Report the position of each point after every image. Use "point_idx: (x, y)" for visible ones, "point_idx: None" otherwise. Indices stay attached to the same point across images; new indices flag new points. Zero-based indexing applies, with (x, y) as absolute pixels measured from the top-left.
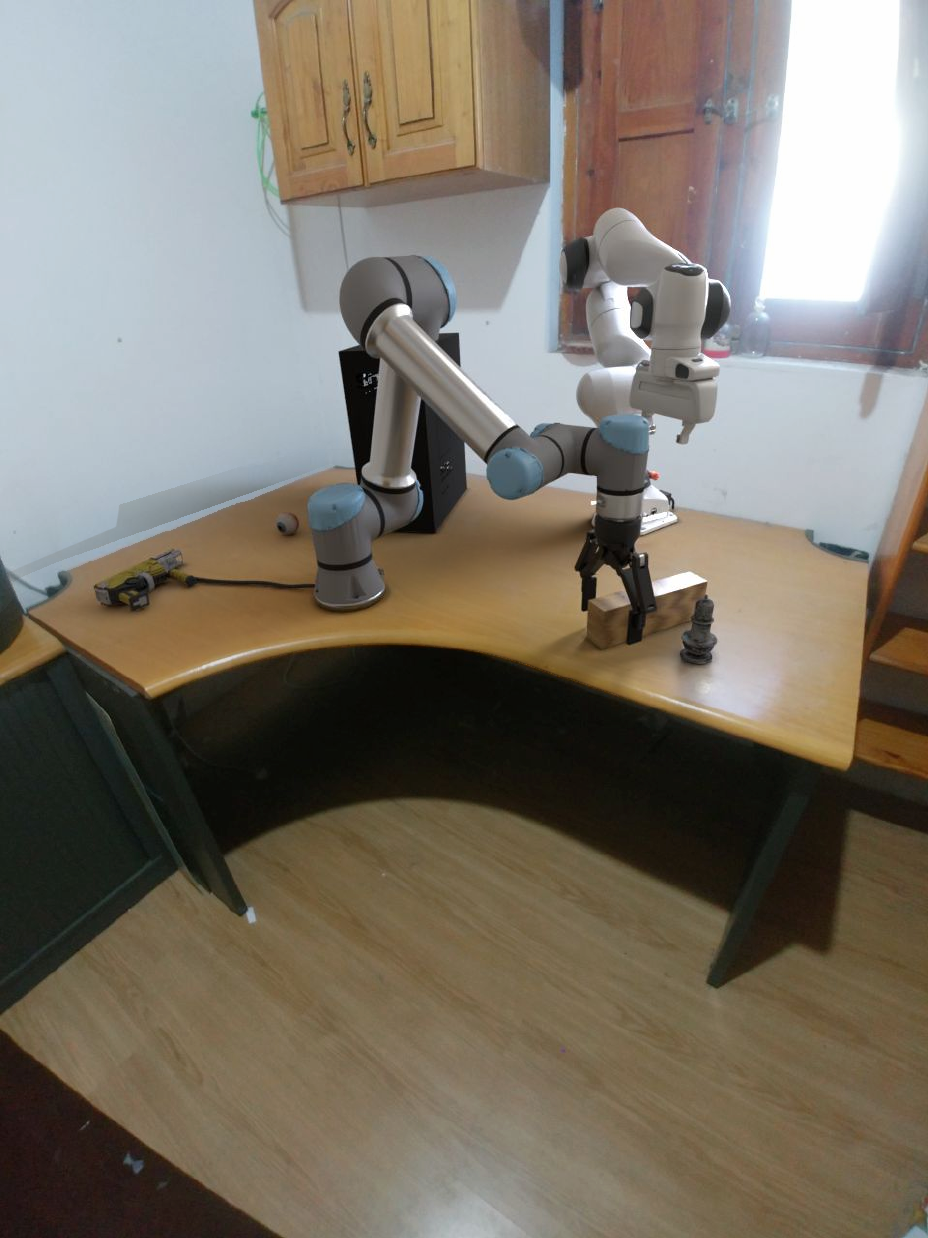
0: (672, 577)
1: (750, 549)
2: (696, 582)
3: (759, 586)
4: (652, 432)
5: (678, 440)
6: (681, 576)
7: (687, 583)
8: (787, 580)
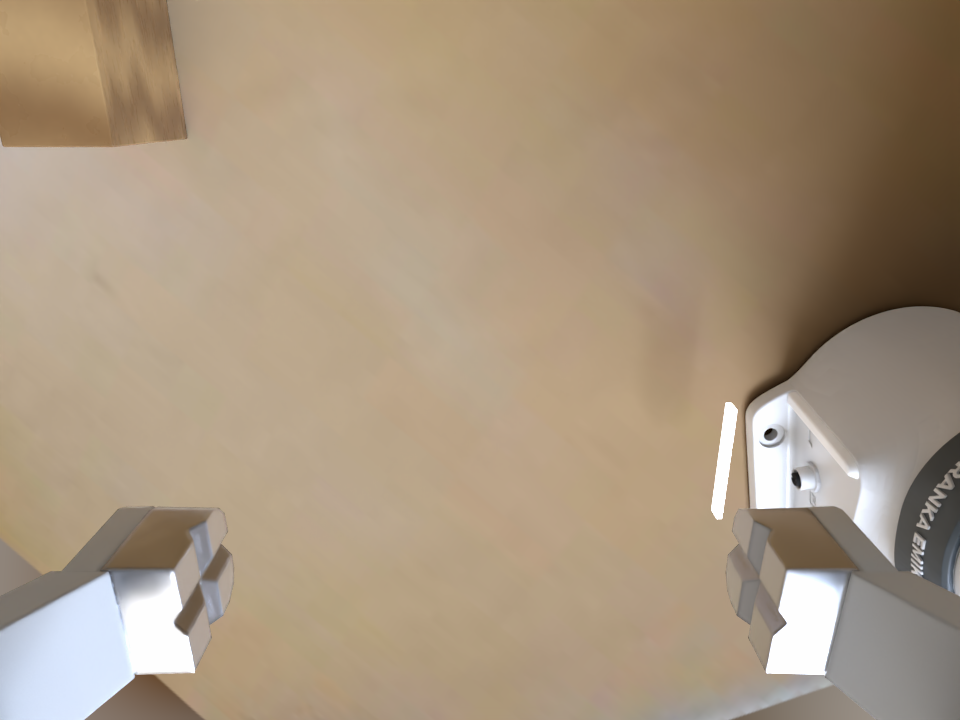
0: (78, 31)
1: (444, 606)
2: (2, 92)
3: (219, 448)
4: (738, 566)
5: (159, 519)
6: (76, 77)
7: (3, 48)
8: None
